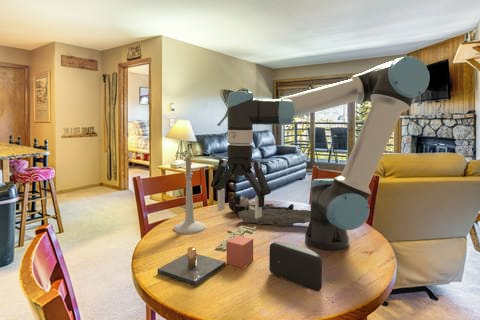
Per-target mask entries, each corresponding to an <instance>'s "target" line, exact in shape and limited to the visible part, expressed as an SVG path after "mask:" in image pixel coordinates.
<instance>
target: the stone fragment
mask: <svg viewBox="0 0 480 320" xmlns="http://www.w3.org/2000/svg"><path fill="white" fill-rule="evenodd" d="M237 215H238V217H239V219H240V220H242V223H254V224H257V225H258V226H261V225H262V224H263V225H268V224H269V225H272V226H278V227H279V226H284V227H285V226H286V227H292V226H293V225H294V224H307V223H308V224H309V223H310V218H311V210H309V209H293V210H285V209H265V210H264V209H263V210H262V216H261V217H259V218H257V219H256V218H255V210H254V209H253V210H244V211H241V212H238V213H237Z"/></svg>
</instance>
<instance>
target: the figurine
mask: <svg viewBox="0 0 480 320" xmlns="http://www.w3.org/2000/svg"><path fill="white" fill-rule="evenodd" d="M228 208H229V209H230V210H231V211H232V212H234V213H237V214H238V212H241V211H244V210H253V209H254V210H255V201H252V202H250V200H249V198H248V197H245V196H242V194H234V195H232V196H230V197H229V200H228ZM263 209H264V210H265V209H285V210H294V204H293V203H290V204H289V205H288V206H275V204H274V203H264V206H263V207H262V210H263Z"/></svg>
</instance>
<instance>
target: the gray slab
mask: <svg viewBox="0 0 480 320" xmlns="http://www.w3.org/2000/svg"><path fill="white" fill-rule="evenodd" d="M226 265H227V261H226V260H225V261H224V260H221V259H217V258H213V257H209V256H207V255H202V254H200V253H199V254H198V253H197V247H194V246H191V247H188V248H187V253H186V254H185V253H184V254H183V255H182V256H180V257H178V258H175V259H174V260H172V261H170V262H168V263H166V264H164V265H161V267H160V266H159V268H157V275H160V276H162V277H165V278H169V279H171V280H174V281H176V282H180V283H183V284H186V285H188V286H192V287H195V288H197V287H198V286H199V285H201V284H202V283H204V282H206V280H208V279H210V278H211V277H213V276H215V274H218V272H220V271H222V269H224V268H226Z"/></svg>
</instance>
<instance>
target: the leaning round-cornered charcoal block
mask: <svg viewBox="0 0 480 320" xmlns="http://www.w3.org/2000/svg"><path fill="white" fill-rule="evenodd" d="M268 268H269V269H268V270H269V272H270V274H272V275H274V276H276V277H278V278H281V279H283V280H287V281H288V282H290V283H294V284H296V285H298V286H301V287H305V288H307V289H309V290H312V291H315V292H320V291H321V290H322V289H323V288H322V287H323V284H322V283H323V259H322V257H321V255H320V254H318V253H317V252H316V251H313V249H310V248H308V247H305V246H301V245H298V244H294V243H290V242H280V241H275V242H272V243H270V245H269V267H268Z"/></svg>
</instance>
